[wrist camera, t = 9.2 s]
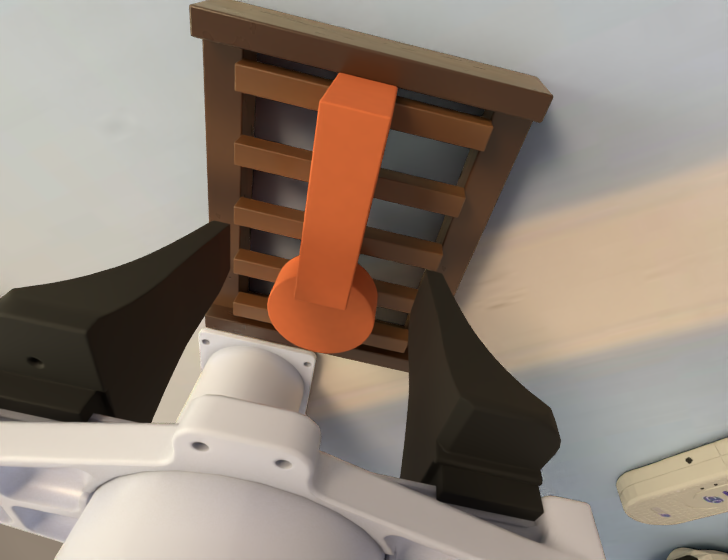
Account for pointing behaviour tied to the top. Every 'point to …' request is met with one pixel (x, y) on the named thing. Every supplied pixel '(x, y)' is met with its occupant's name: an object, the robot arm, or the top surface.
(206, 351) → the robot arm
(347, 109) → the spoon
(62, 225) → the top surface
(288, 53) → the rack
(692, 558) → the robot toy
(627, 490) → the electronic device
